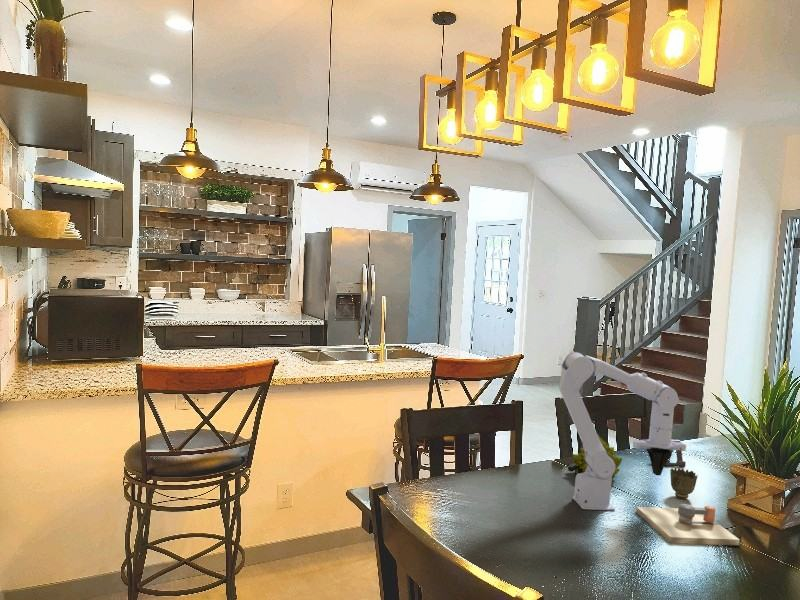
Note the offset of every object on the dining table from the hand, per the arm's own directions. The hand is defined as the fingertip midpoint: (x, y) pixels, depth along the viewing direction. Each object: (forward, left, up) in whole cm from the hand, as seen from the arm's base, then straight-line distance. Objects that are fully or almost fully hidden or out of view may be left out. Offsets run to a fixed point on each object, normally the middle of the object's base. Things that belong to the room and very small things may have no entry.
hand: (656, 474), depth 163 cm
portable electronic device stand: (+27, +42, -11) cm, 51 cm away
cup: (+14, +10, -11) cm, 20 cm away
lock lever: (+6, -11, -8) cm, 15 cm away
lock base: (+3, -11, -10) cm, 15 cm away
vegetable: (-6, +26, -11) cm, 28 cm away
